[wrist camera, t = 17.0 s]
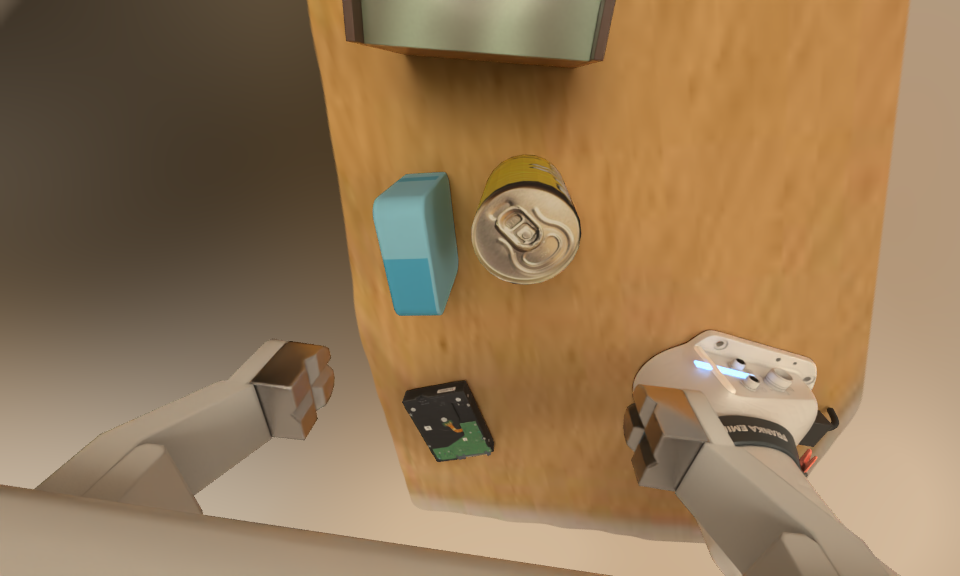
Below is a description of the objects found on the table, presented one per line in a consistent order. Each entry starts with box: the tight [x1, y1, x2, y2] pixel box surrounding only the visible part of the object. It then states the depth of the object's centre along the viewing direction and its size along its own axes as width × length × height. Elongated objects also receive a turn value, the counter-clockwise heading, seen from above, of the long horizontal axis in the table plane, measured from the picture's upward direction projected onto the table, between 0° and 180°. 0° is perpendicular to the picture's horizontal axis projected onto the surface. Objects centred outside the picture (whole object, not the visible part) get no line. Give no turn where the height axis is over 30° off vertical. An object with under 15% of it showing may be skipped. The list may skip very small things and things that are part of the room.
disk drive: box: [402, 380, 494, 462], centre depth 58 cm, size 10×3×15 cm
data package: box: [373, 172, 458, 316], centre depth 38 cm, size 12×4×12 cm, turn 4°
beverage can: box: [472, 155, 581, 285], centre depth 35 cm, size 9×9×12 cm
